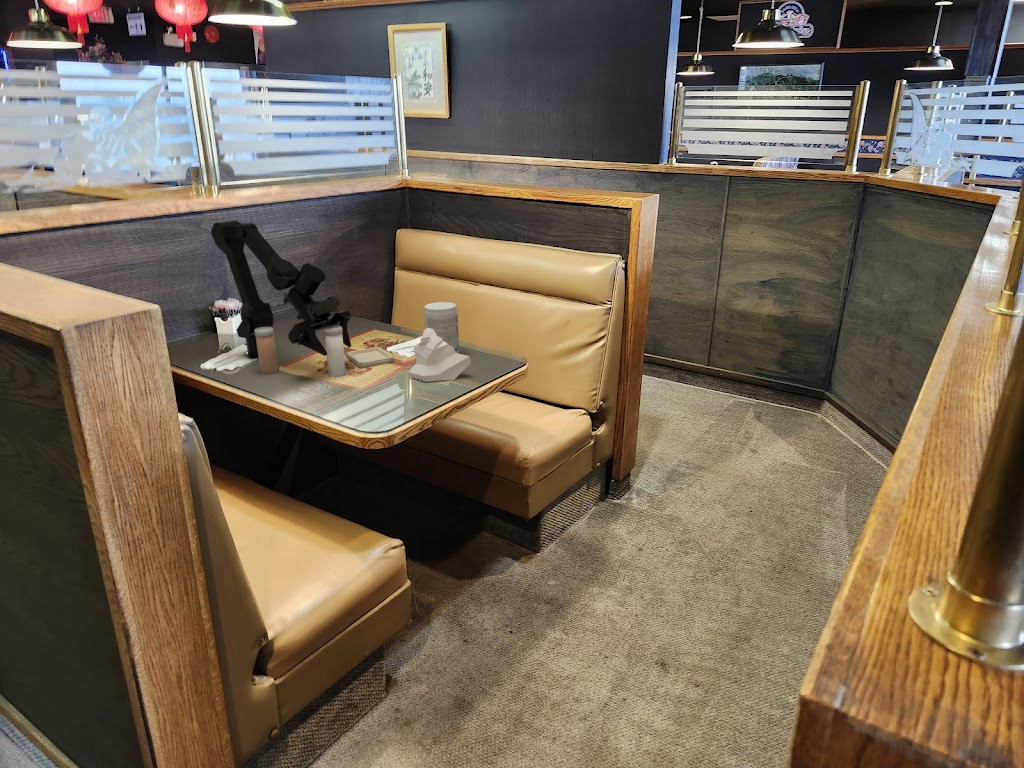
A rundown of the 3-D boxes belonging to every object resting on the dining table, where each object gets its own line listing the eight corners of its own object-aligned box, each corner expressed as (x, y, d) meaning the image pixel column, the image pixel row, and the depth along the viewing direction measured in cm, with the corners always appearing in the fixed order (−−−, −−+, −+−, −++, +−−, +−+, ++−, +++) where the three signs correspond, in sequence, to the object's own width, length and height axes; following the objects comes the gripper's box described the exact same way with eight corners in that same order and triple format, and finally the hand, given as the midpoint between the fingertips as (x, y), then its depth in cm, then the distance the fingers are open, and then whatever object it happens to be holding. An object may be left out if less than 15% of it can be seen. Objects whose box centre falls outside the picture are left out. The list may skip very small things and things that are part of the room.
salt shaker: (326, 373, 197) (321, 327, 192) (342, 370, 199) (338, 324, 195) (331, 377, 193) (326, 331, 189) (348, 374, 195) (344, 328, 191)
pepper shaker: (258, 370, 200) (252, 328, 196) (275, 367, 202) (270, 325, 198) (262, 374, 196) (256, 332, 192) (280, 371, 198) (275, 329, 194)
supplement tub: (465, 355, 210) (463, 306, 205) (436, 361, 205) (433, 311, 200) (449, 347, 218) (447, 300, 213) (421, 353, 213) (418, 304, 208)
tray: (346, 357, 210) (345, 352, 209) (378, 351, 215) (378, 346, 214) (360, 368, 200) (360, 363, 200) (394, 362, 205) (393, 357, 205)
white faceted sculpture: (439, 393, 186) (422, 344, 180) (405, 383, 196) (388, 337, 190) (473, 370, 193) (458, 322, 186) (439, 362, 203) (423, 317, 197)
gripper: (290, 294, 183) (324, 342, 181) (344, 280, 197) (376, 325, 195) (273, 320, 190) (306, 366, 188) (326, 305, 204) (358, 348, 202)
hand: (338, 350), depth 193 cm, fingers open, 8 cm apart
